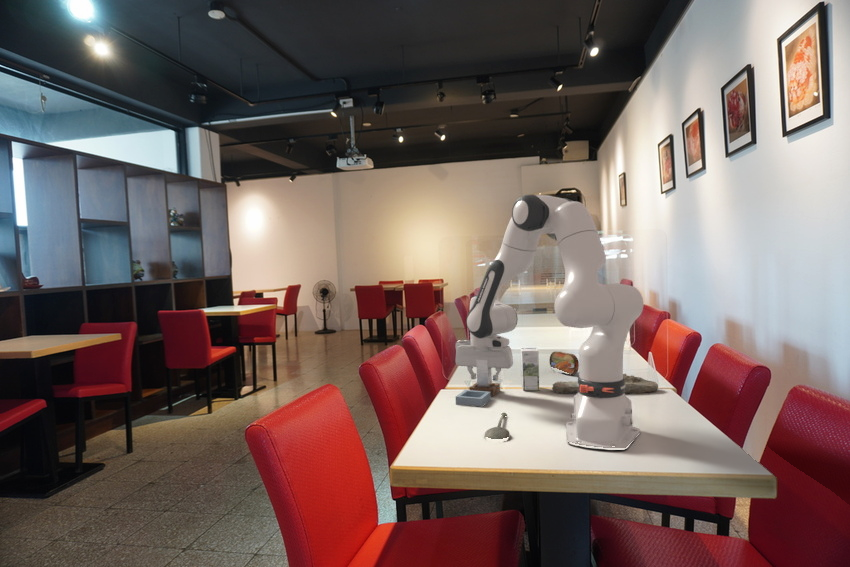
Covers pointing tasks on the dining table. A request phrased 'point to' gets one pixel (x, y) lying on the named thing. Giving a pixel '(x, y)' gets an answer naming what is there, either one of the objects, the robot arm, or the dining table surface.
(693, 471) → the dining table surface
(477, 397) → the pair of square sockets
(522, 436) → the dining table surface
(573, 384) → the elongated rock
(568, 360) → the tin
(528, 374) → the syrup box
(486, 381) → the steel peg
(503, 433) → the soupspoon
